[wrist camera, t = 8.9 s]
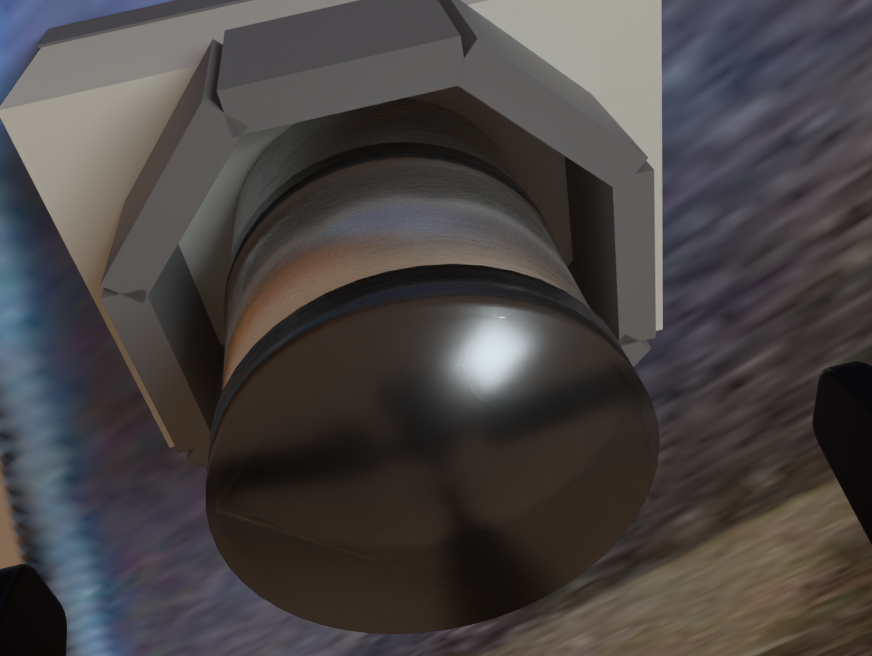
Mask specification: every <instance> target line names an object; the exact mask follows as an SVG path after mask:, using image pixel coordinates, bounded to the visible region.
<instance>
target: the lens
mask: <svg viewBox="0 0 872 656" xmlns="http://www.w3.org/2000/svg"><path fill="white" fill-rule="evenodd" d="M224 328H225V335H226V340H225V355H224V369H223V384H222V394H221V396H220V399H219V402H218V404H217V407H216V409H215V412H214V417H213V422H212V427H211V432H210V441H209V454H208V466H207V479H206V512H207V517H208V522H209V528H210V531H211V534H212V536H213V539H214V541H215V544H216V546H217V548H218V550H219V552H220V553H221V555H222V557H223V558H224V560H225V561H226V563H227V564H228V566H229V567H230V568H231V570H232V571H233V572H234V573H235V574H236V575H237V576H238V577H239V578H240V580H241V581H242V582H243V583H244V584H246V585H247V586H248V587H249V588H250V589H252V590H253V591H254V592H255V593H257V594H258V595H259V596H260V597H262V598H263V599H265V600H267V601H268V602H270V603H272V604H273V605H275V606H277V607H278V608H280V609H282V610H284V611H287V612H289V613H291V614H293V615H296V616H298V617H300V618H303V619H306V620H309V621H312V622H315V623H318V624H321V625H325V626H330V627H334V628H339V629H343V630H349V631H357V632H365V633H379V634H409V633H425V632H432V631H440V630H448V629H453V628H457V627H462V626H467V625H472V624H475V623H479V622H482V621H486V620H489V619H493V618H496V617H499V616H502V615H504V614H507V613H510V612H512V611H515V610H518V609H520V608H522V607H525V606H527V605H529V604H531V603H533V602H535V601H537V600H539V599H542V598H544V597H545V596H547V595H549V594H551V593H552V592H554V591H556V590H558V589H559V588H561V587H563V586H565V585H566V584H567V583H569V582H570V581H572V580H573V579H575V578H576V577H578V576H579V575H580V574H582V573H583V572H585V571H586V570H587V569H588V568H590V567H591V566H592V565H593V564H594V563H595V562H597V561H598V560H599V559H600V558H601V557H603V556H604V555H605V554H606V553H607V551H608V550H609V549H610V548H611V547H612V546H613V545H614V544H615V543H616V542H617V541H618V540H619V539H620V538H621V536H622V535H623V534H624V533H625V531H626V530H627V529H628V527H629V526H630V525H631V524H632V522H633V521H634V519H635V517H636V516H637V514H638V512H639V511H640V509H641V507H642V506H643V504H644V502H645V500H646V497H647V495H648V493H649V490H650V488H651V486H652V483H653V480H654V476H655V472H656V468H657V464H658V455H659V443H660V442H659V431H658V421H657V418H656V415H655V411H654V408H653V404H652V401H651V399H650V397H649V395H648V393H647V391H646V389H645V388H644V386H643V384H642V382H641V380H640V378H639V376H638V375H637V373H636V371H635V369H634V368H633V366H632V364H631V363H630V361H629V359H628V357H627V356H626V354H625V352H624V350H623V349H622V347H621V345H620V343H619V342H618V340H617V338H616V337H615V336H614V334H613V333H612V332H611V330H610V329H609V328H608V326H607V325H606V324H605V323H604V321H603V320H602V319H601V318H600V317H599V316H597V315H596V314H595V313H594V312H593V311H592V310H591V309H590V307H589V306H588V304H587V302H586V300H585V298H584V297H583V295H582V293H581V291H580V289H579V288H578V286H577V284H576V282H575V280H574V279H573V277H572V275H571V273H570V271H569V270H568V268H567V266H566V264H565V262H564V260H563V257H562V254H561V251H560V248H559V245H558V243H557V241H556V239H555V238H554V236H553V234H552V232H551V230H550V228H549V226H548V225H547V223H546V221H545V219H544V217H543V216H542V214H541V212H540V210H539V209H538V207H537V206H536V205H535V203H534V202H533V201H532V199H531V198H530V197H529V195H528V194H527V193H526V192H525V190H524V189H523V187H522V185H521V183H520V181H519V180H518V178H517V176H516V174H515V173H514V171H513V169H512V167H511V165H510V164H509V162H508V160H507V158H506V157H505V155H504V154H503V153H502V151H501V150H500V149H499V147H498V146H497V145H496V143H495V142H494V141H493V140H492V139H491V138H490V137H489V136H488V135H487V134H486V133H485V132H484V131H483V130H481V129H480V128H479V127H477V126H476V125H475V124H473V123H472V122H471V121H469V120H468V119H466V118H465V117H463V116H461V115H459V114H457V113H455V112H454V111H452V110H450V109H447V108H444V107H442V106H439V105H436V104H434V103H431V102H426V101H422V100H418V99H413V98H402V99H398V100H393V101H389V102H385V103H380V104H376V105H371V106H367V107H363V108H358V109H354V110H350V111H345V112H341V113H336V114H332V115H328V116H323V117H319V118H315V119H310V120H306V121H301V122H297V123H295V124H293V125H292V126H291V127H289V128H288V129H287V130H286V131H284V132H283V133H282V134H281V135H279V136H278V137H277V138H276V139H275V140H274V141H273V142H272V143H271V144H270V145H269V146H268V147H267V148H266V149H265V150H264V151H263V153H262V154H261V155H260V157H259V158H258V160H257V161H256V162H255V164H254V165H253V167H252V168H251V170H250V172H249V174H248V176H247V178H246V179H245V181H244V183H243V185H242V188H241V191H240V194H239V197H238V200H237V204H236V209H235V215H234V221H233V236H232V251H231V259H230V262H229V267H228V273H227V278H226V287H225V300H224Z"/></svg>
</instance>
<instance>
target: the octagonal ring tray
mask: <svg viewBox="0 0 872 656" xmlns="http://www.w3.org/2000/svg"><path fill="white" fill-rule="evenodd" d="M37 46H38V48H39V52H38V53H37V54H36V56H35V57H34V59H33V60H32V61H31V63H30V64H29V66H28V67H27V69H26V70H25V71H24V73H23V74H22V76H21V77H20V79H19V80H18V81H17V83H16V84H15V86H14V87H13V89H12V90H11V91H10V93H9V94H8V96H7V97H6V98H5V100H4V101H3V103H2V104H1V106H0V118H1V120H2V122H3V124H4V126H5V128H6V130H7V132H8V134H9V136H10V138H11V140H12V142H13V144H14V145H15V147H16V149H17V151H18V153H19V155H20V157H21V159H22V161H23V163H24V165H25V167H26V169H27V171H28V173H29V175H30V177H31V179H32V181H33V183H34V184H35V186H36V188H37V190H38V192H39V194H40V196H41V198H42V200H43V202H44V204H45V206H46V208H47V210H48V212H49V214H50V216H51V218H52V220H53V222H54V223H55V225H56V227H57V229H58V231H59V233H60V235H61V237H62V239H63V241H64V243H65V245H66V247H67V249H68V251H69V253H70V255H71V257H72V259H73V261H74V262H75V264H76V266H77V268H78V270H79V272H80V274H81V276H82V278H83V280H84V282H85V284H86V286H87V288H88V290H89V292H90V294H91V296H92V298H93V300H94V301H95V303H96V305H97V307H98V309H99V311H100V313H101V315H102V317H103V319H104V321H105V323H106V325H107V327H108V329H109V331H110V333H111V335H112V337H113V338H114V340H115V342H116V344H117V346H118V348H119V350H120V352H121V354H122V356H123V358H124V360H125V362H126V364H127V366H128V368H129V370H130V372H131V374H132V376H133V377H134V379H135V381H136V383H137V385H138V387H139V389H140V391H141V393H142V395H143V397H144V399H145V401H146V403H147V405H148V407H149V409H150V411H151V413H152V415H153V416H154V418H155V420H156V422H157V424H158V426H159V428H160V430H161V432H162V434H163V436H164V438H165V440H166V442H167V444H168V446H169V448H171V447H176V449H177V451H178V452H182V451H186V450H188V459H187V460H189V461H192V462H194V463H197V464H200V465H203V466H206V467H207V466H208V454H209V441H210V432H211V427H212V422H213V417H214V412H215V409H216V407H217V404H218V402H219V399H220V396H221V394H222V384H223V369H224V355H225V340H226V335H225V328H224V300H225V287H226V278H227V273H228V267H229V262H230V259H231V251H232V236H233V221H234V215H235V209H236V204H237V200H238V197H239V194H240V191H241V188H242V185H243V183H244V181H245V179H246V178H247V176H248V174H249V172H250V170H251V168H252V167H253V165H254V164H255V162H256V161H257V160H258V158H259V157H260V155H261V154H262V153H263V151H264V150H265V149H266V148H267V147H268V146H269V145H270V144H271V143H272V142H273V141H274V140H275V139H276V138H277V137H278V136H279V135H281V134H282V133H283V132H284V131H286V130H287V129H288V128H289V127H291V126H292V125H293V124H295V123H297V122H301V121H306V120H310V119H315V118H319V117H323V116H328V115H332V114H336V113H341V112H345V111H350V110H354V109H358V108H363V107H367V106H371V105H376V104H380V103H385V102H389V101H393V100H398V99H402V98H413V99H418V100H422V101H426V102H431V103H434V104H436V105H439V106H442V107H444V108H447V109H450V110H452V111H454V112H455V113H457V114H459V115H461V116H463V117H465V118H466V119H468V120H469V121H471V122H472V123H473V124H475V125H476V126H477V127H479V128H480V129H481V130H483V131H484V132H485V133H486V134H487V135H488V136H489V137H490V138H491V139H492V140H493V141H494V142H495V143H496V145H497V146H498V147H499V149H500V150H501V151H502V153H503V154H504V155H505V157H506V158H507V160H508V162H509V164H510V165H511V167H512V169H513V171H514V173H515V174H516V176H517V178H518V180H519V181H520V183H521V185H522V187H523V189H524V190H525V192H526V193H527V194H528V195H529V197H530V198H531V199H532V201H533V202H534V203H535V205H536V206H537V207H538V209H539V210H540V212H541V214H542V216H543V217H544V219H545V221H546V223H547V225H548V226H549V228H550V230H551V232H552V234H553V236H554V238H555V239H556V241H557V243H558V245H559V248H560V251H561V254H562V257H563V260H564V262H565V264H566V266H567V268H568V270H569V271H570V273H571V275H572V277H573V279H574V280H575V282H576V284H577V286H578V288H579V289H580V291H581V293H582V295H583V297H584V298H585V300H586V302H587V304H588V306H589V307H590V309H591V310H592V311H593V312H594V313H595V314H596V315H597V316H599V317H600V318H601V319H602V320H603V321H604V323H605V324H606V325H607V326H608V328H609V329H610V330H611V332H612V333H613V334H614V336H615V337H616V338H617V340H618V342H619V343H620V345H621V347H622V349H623V350H624V352H625V354H626V356H627V357H628V359H629V361H630V363H631V364H632V366H633V367H634V366H635V365H636V364H637V363H638V362H639V361H640V360H641V359H642V358H643V357H644V355H645V354H646V353H647V352H648V351H649V350H650V349H651V347H650V345H649V344H648V342H647V339H652V338H656V331H657V330H661V329H663V293H662V40H661V0H176V1H172V2H167V3H163V4H158V5H154V6H149V7H145V8H140V9H136V10H131V11H127V12H122V13H118V14H113V15H109V16H104V17H100V18H95V19H91V20H86V21H82V22H77V23H73V24H68V25H64V26H59V27H55V28H50V29H49V30H48V31H47V32H46V34H45V35H44V37H43V38H42V39H41V41H40V42H39V43H38V45H37Z"/></svg>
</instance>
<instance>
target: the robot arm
mask: <svg viewBox="0 0 872 656" xmlns="http://www.w3.org/2000/svg"><path fill="white" fill-rule="evenodd" d="M813 429H814V434H815V437H816V439H817V441H818V444H819V445H820V447H821V449H822V451H823V453H824V455H825V457H826V459H827V461H828V463H829V465H830V466H831V468H832V470H833V472H834V474H835V476H836V478H837V480H838V482H839V484H840V486H841V488H842V489H843V491H844V493H845V495H846V497H847V499H848V501H849V503H850V505H851V507H852V509H853V511H854V512H855V514H856V516H857V518H858V520H859V522H860V524H861V526H862V528H863V530H864V532H865V534H866V535H867V537H868V539H869V541H870V543H871V544H872V366H871V365H869V364H866V363H863V362H859V361H853V362H849V363H845V364H841V365H837V366H832V367H828V368H826V369H824V370H823V371H822V373H821V374H820V376H819V380H818V387H817V394H816V400H815V407H814V413H813ZM66 640H67V622H66V616H65V612H64V609H63V607H62V605H61V603H60V602H59V601H58V599H57V598H56V597H55V595H54V594H53V593H52V591H51V590H50V589H49V587H48V586H47V585H46V583H45V582H44V581H43V579H42V578H41V577H40V575H39V574H38V573H37V571H36V570H35V569H34V568H33V567H32V566H30V565H27V564H20V565H16V566H12V567H7V568H3V569H0V656H66Z"/></svg>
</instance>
